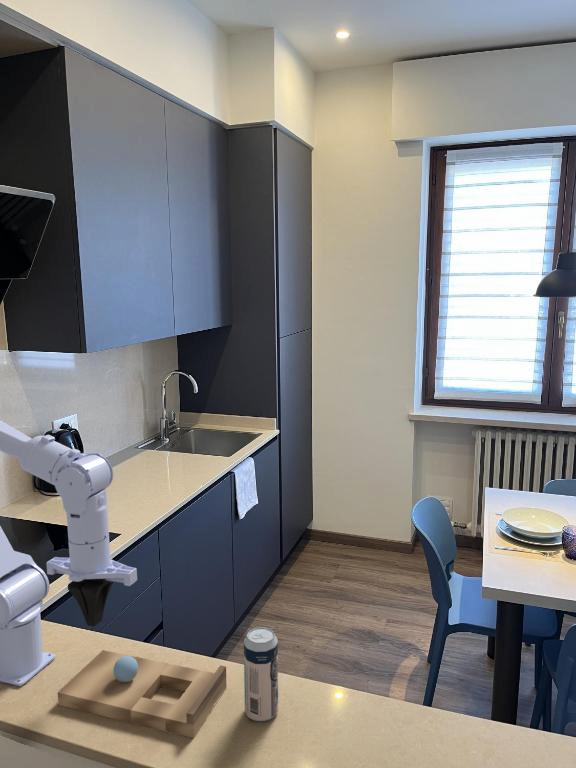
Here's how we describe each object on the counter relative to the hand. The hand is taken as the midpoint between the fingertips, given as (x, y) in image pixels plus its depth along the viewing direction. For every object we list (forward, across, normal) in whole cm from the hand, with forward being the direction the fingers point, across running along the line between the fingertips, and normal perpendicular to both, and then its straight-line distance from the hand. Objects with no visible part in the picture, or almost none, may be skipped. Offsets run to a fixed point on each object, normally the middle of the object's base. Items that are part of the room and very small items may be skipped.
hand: (94, 622), depth 89 cm
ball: (+7, +5, 0) cm, 8 cm away
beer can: (+11, +26, +2) cm, 28 cm away
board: (+10, +8, 0) cm, 13 cm away
